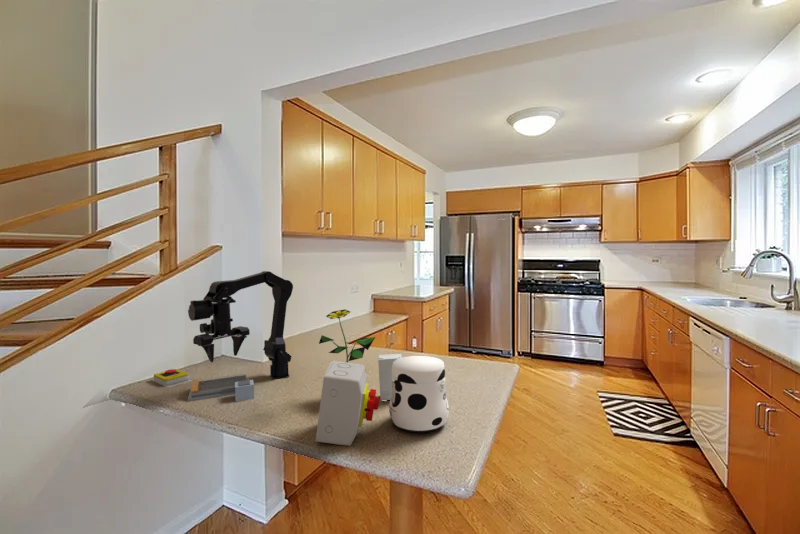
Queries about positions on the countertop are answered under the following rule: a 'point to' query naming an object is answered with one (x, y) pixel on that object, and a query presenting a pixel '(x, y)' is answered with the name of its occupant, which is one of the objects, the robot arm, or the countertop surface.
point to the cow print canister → (418, 394)
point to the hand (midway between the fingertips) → (223, 358)
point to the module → (244, 390)
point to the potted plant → (354, 353)
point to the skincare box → (386, 374)
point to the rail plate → (214, 387)
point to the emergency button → (171, 378)
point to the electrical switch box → (344, 403)
